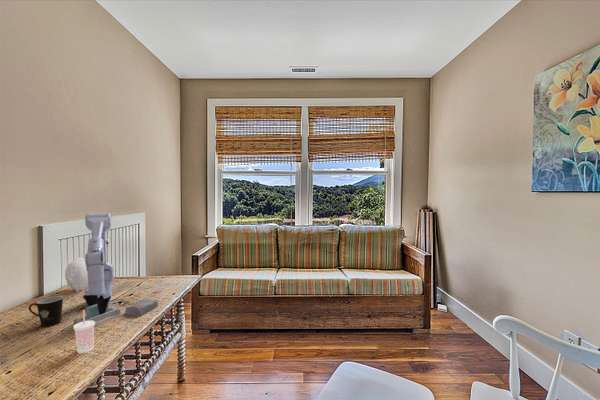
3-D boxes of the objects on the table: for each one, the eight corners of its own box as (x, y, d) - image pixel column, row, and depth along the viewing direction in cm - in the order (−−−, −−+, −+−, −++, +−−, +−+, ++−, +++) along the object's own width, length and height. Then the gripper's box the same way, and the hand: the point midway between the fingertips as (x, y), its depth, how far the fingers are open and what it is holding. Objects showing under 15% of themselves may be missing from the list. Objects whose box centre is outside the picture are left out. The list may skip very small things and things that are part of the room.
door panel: (86, 322, 127) (85, 307, 127) (106, 314, 135) (105, 301, 134) (89, 323, 126) (88, 308, 126) (109, 315, 134) (108, 301, 133)
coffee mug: (69, 320, 131) (68, 297, 131) (46, 329, 123) (45, 304, 123) (50, 317, 135) (49, 294, 134) (27, 325, 127) (26, 301, 126)
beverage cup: (91, 353, 105) (89, 312, 104) (71, 355, 104) (68, 314, 103) (99, 344, 111) (97, 305, 110) (80, 346, 110) (77, 307, 109)
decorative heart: (71, 287, 175) (69, 257, 174) (93, 284, 180) (92, 255, 179) (62, 297, 159) (60, 264, 158) (87, 294, 163) (85, 261, 162)
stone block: (123, 319, 136) (142, 316, 134) (121, 308, 136) (140, 305, 134) (142, 309, 148) (160, 306, 146) (140, 299, 148) (158, 296, 146)
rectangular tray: (73, 326, 126) (73, 319, 125) (111, 312, 139) (110, 306, 139) (83, 329, 122) (83, 322, 122) (120, 315, 136) (120, 309, 135)
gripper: (76, 280, 130) (77, 312, 130) (96, 285, 123) (97, 319, 123) (93, 276, 136) (95, 306, 136) (113, 280, 129) (115, 312, 130)
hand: (97, 312), depth 130 cm, fingers open, 6 cm apart
